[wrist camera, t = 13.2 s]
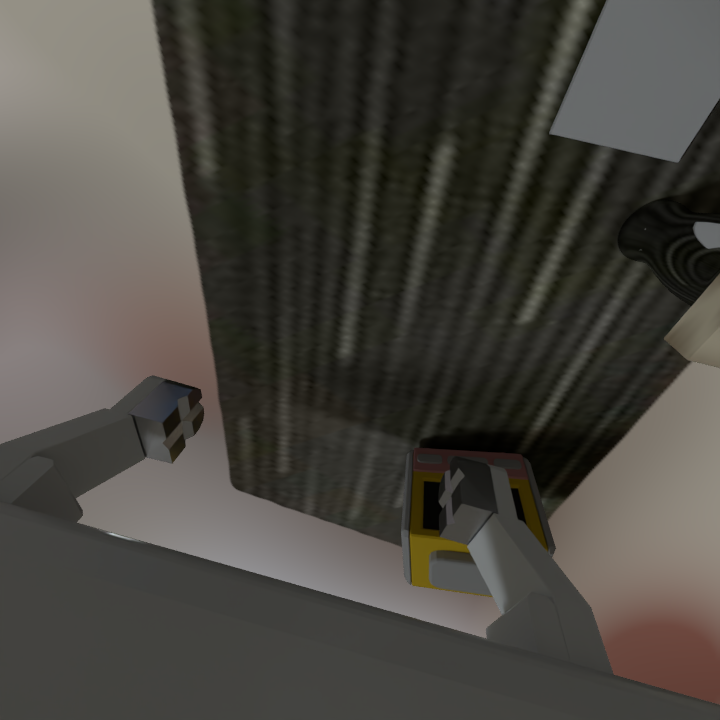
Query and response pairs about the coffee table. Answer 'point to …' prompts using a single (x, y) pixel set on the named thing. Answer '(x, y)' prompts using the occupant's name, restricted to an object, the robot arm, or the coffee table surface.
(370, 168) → the coffee table surface
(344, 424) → the coffee table surface
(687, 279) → the beer glass
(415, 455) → the alarm clock
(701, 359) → the birch lid
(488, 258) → the coffee table surface
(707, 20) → the grey mat
